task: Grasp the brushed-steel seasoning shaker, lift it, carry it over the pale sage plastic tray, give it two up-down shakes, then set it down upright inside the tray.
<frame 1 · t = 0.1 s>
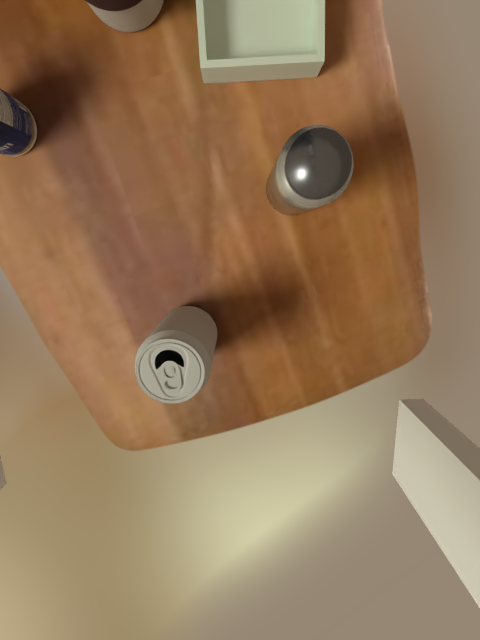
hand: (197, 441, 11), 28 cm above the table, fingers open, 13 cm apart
shaker: (292, 187, 35), on the table
pill bottle: (13, 129, 34), on the table
beverage can: (190, 331, 39), on the table
tray: (257, 7, 32), on the table
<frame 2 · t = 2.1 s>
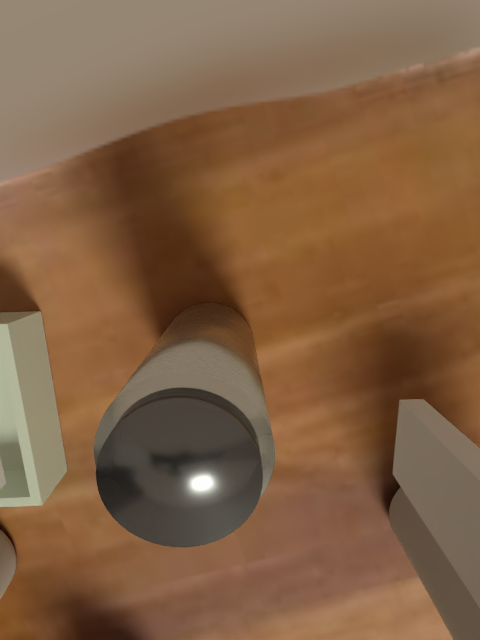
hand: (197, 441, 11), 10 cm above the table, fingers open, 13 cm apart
shaker: (209, 345, 21), on the table
beverage can: (427, 499, 24), on the table
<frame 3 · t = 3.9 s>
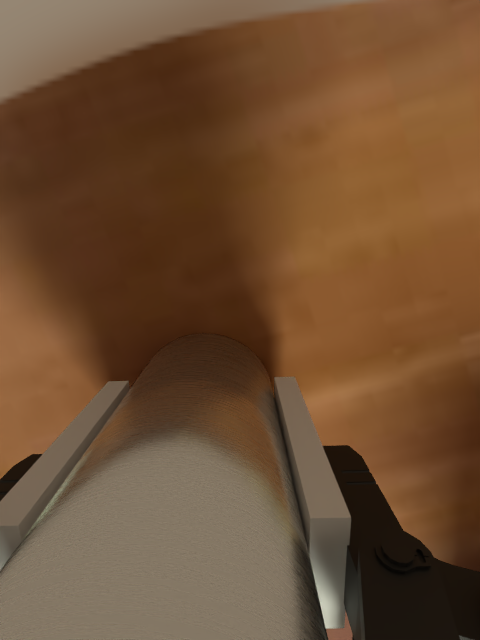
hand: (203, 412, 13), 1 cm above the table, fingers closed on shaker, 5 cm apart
shaker: (206, 396, 14), on the table, touching gripper
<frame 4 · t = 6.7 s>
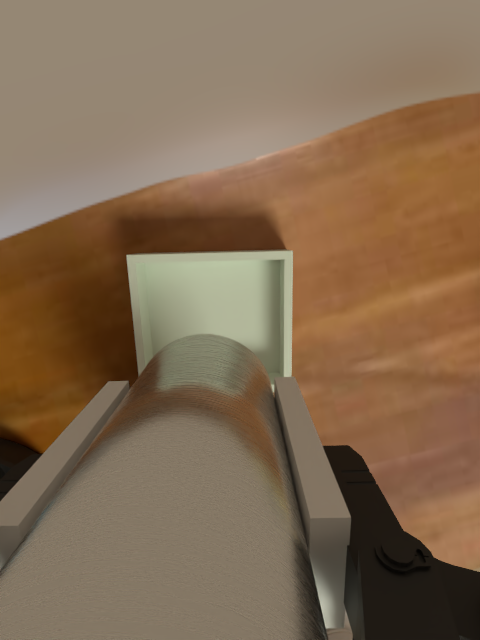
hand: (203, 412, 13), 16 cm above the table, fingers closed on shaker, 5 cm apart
shaker: (206, 397, 14), point 15 cm above the table, touching gripper
pill bottle: (312, 550, 35), on the table
tray: (215, 317, 29), on the table
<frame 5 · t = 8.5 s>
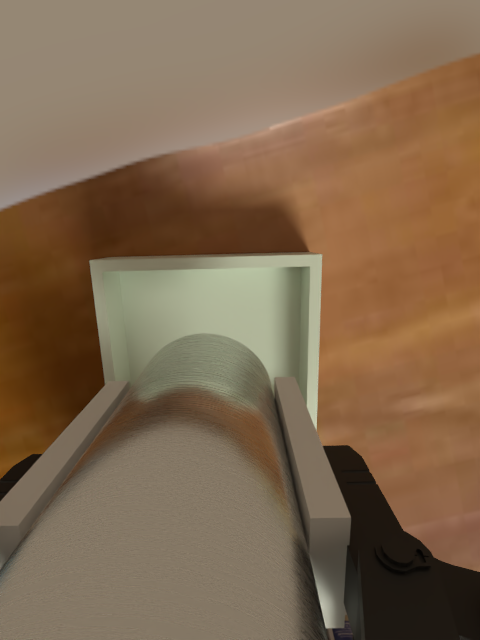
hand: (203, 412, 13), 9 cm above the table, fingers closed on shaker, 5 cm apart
shaker: (206, 396, 14), point 8 cm above the table, touching gripper
pill bottle: (336, 627, 28), on the table
tray: (214, 341, 22), on the table
when the fingers open (3 cm above the table, at t = 9.8 s): shaker stays where it is, resting on tray.
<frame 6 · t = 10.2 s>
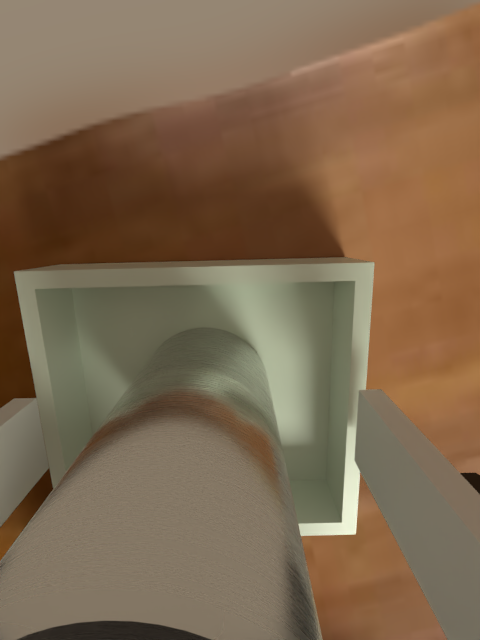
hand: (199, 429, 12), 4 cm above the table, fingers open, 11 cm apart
shaker: (206, 387, 15), point 1 cm above the table, touching tray
tray: (209, 381, 16), on the table
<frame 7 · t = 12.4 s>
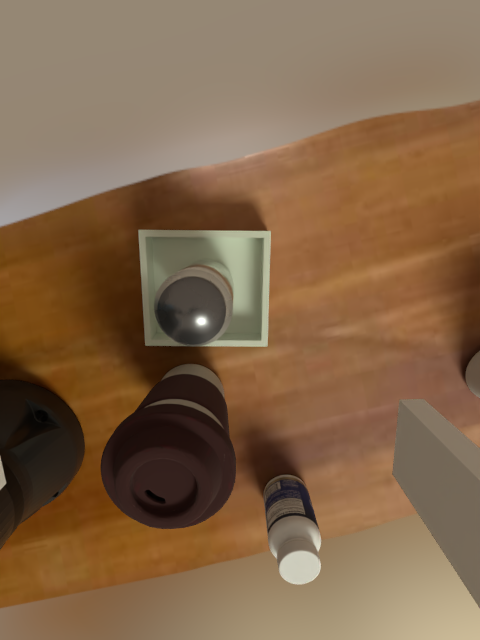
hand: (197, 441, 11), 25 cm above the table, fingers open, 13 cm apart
shaker: (206, 286, 34), point 1 cm above the table, touching tray
pill bottle: (285, 490, 41), on the table
coffee cup: (192, 392, 38), on the table
tray: (208, 286, 35), on the table
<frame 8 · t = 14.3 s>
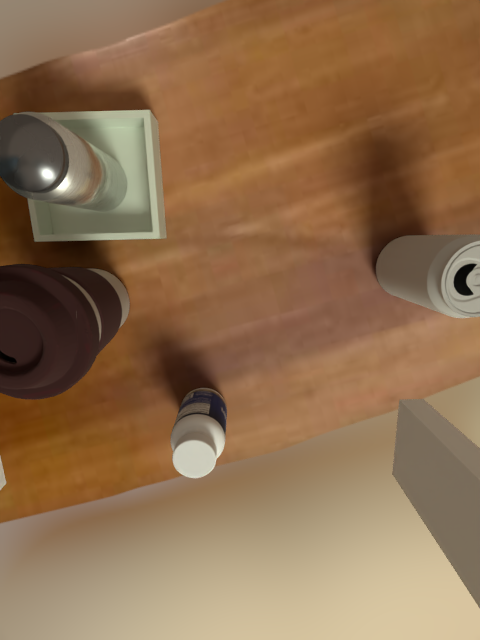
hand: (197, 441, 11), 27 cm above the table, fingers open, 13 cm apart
shaker: (99, 182, 34), point 1 cm above the table, touching tray
pill bottle: (204, 406, 40), on the table
coffee cup: (98, 301, 37), on the table
beverage can: (401, 265, 36), on the table
tray: (102, 183, 34), on the table
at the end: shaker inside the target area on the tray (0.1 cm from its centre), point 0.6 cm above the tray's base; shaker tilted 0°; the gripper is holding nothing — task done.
